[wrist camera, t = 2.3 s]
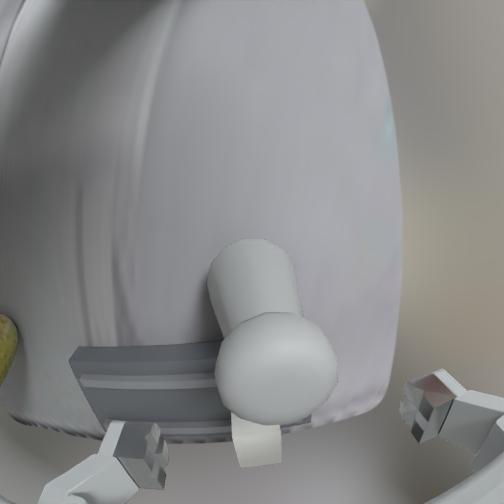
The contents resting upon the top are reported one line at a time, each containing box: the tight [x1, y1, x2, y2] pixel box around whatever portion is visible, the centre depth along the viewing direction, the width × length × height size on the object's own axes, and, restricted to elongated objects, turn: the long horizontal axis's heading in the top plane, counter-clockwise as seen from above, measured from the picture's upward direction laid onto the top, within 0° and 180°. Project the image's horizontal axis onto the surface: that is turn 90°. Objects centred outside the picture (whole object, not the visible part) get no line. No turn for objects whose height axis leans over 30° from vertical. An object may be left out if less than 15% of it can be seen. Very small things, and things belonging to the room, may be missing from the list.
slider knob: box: [231, 412, 282, 468], centre depth 18 cm, size 4×3×5 cm
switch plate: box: [68, 341, 311, 436], centre depth 21 cm, size 9×20×3 cm, turn 95°
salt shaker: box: [207, 239, 338, 426], centre depth 14 cm, size 6×6×13 cm
